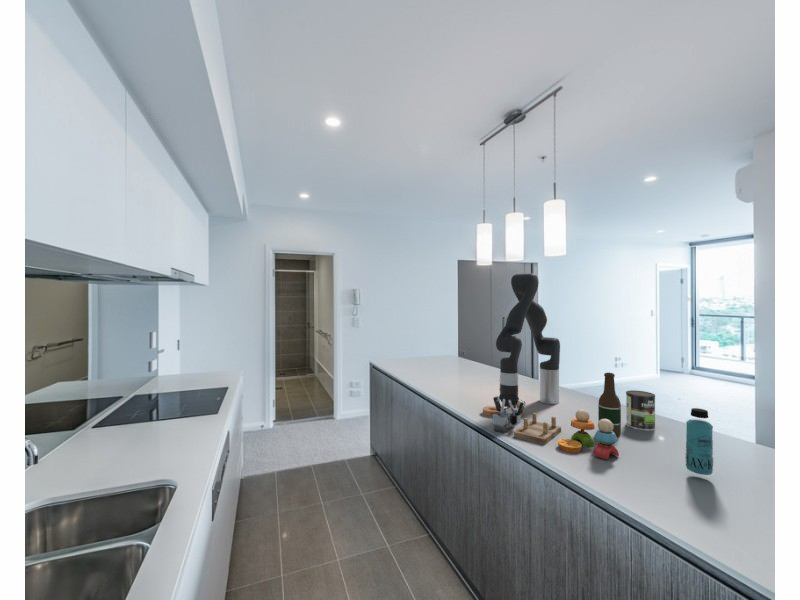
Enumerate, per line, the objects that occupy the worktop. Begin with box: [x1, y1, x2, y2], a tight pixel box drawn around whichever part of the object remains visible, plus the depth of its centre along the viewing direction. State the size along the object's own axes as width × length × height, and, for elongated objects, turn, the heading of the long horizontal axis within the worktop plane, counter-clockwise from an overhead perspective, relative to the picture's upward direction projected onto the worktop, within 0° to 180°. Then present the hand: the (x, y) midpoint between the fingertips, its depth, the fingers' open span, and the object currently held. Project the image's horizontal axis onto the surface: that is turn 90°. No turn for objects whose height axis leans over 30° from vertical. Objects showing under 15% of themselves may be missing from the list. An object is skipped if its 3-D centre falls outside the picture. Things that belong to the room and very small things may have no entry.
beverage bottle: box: [684, 407, 714, 476], centre depth 110 cm, size 6×7×20 cm
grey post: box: [492, 408, 522, 434], centre depth 153 cm, size 18×6×6 cm, turn 138°
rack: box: [513, 412, 562, 446], centre depth 144 cm, size 18×12×6 cm, turn 138°
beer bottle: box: [597, 372, 622, 437], centre depth 145 cm, size 8×8×24 cm
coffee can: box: [625, 389, 656, 432], centre depth 153 cm, size 10×10×14 cm
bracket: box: [482, 399, 524, 418], centre depth 169 cm, size 18×8×7 cm, turn 82°
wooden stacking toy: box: [557, 408, 620, 460], centre depth 129 cm, size 18×17×12 cm
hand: (509, 422), depth 154 cm, fingers closed on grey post, 4 cm apart
